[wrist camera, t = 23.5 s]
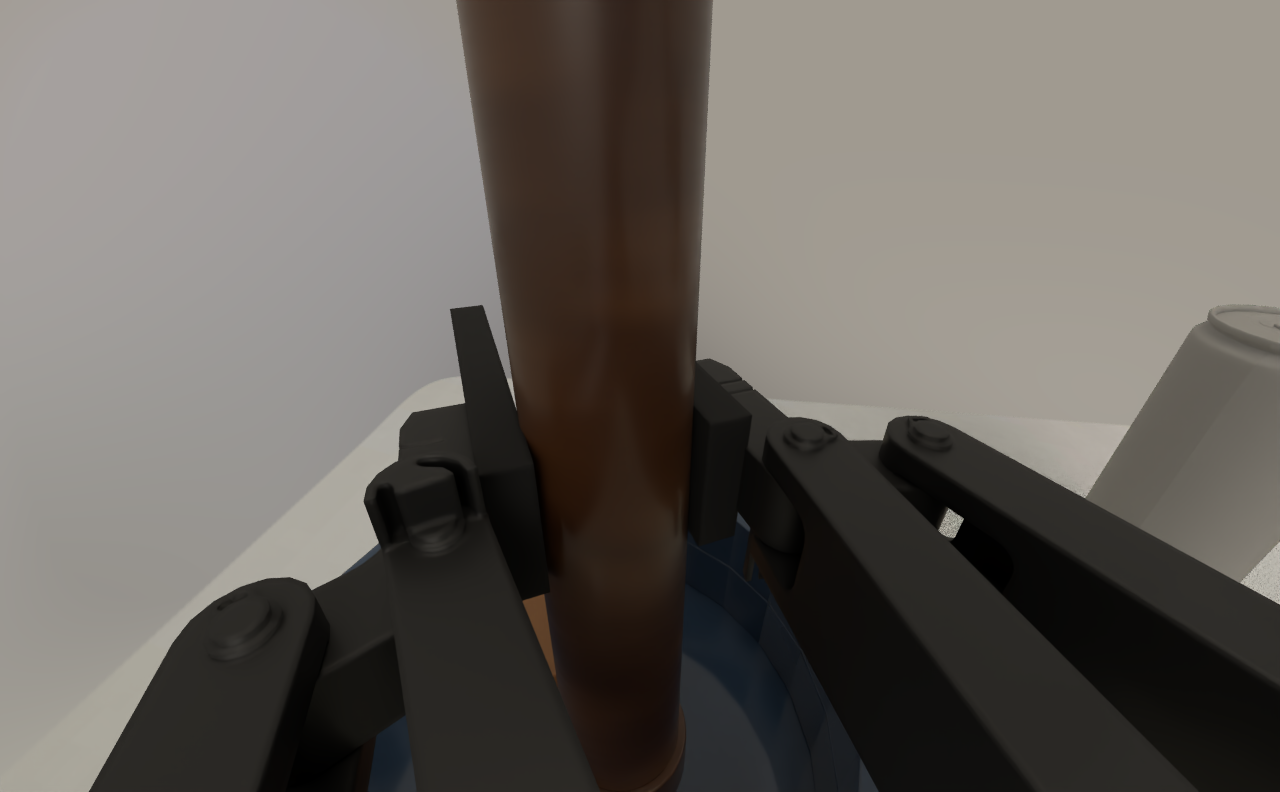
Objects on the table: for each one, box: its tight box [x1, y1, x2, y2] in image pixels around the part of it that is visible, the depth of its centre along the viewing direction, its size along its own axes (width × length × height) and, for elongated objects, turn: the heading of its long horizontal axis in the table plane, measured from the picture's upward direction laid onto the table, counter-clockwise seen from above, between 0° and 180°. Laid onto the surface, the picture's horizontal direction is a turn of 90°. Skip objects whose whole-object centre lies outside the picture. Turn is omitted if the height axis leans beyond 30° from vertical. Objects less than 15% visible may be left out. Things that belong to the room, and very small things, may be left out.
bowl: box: [341, 513, 879, 792], centre depth 14 cm, size 15×15×6 cm
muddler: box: [456, 0, 713, 792], centre depth 9 cm, size 3×3×16 cm
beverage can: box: [1085, 305, 1280, 583], centre depth 18 cm, size 5×5×12 cm
